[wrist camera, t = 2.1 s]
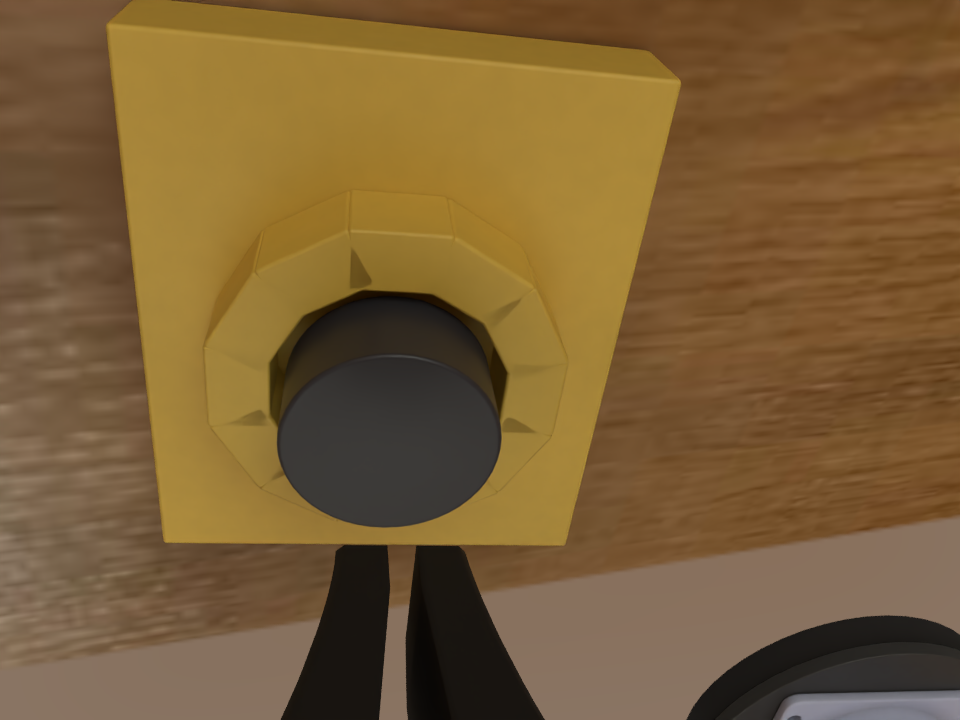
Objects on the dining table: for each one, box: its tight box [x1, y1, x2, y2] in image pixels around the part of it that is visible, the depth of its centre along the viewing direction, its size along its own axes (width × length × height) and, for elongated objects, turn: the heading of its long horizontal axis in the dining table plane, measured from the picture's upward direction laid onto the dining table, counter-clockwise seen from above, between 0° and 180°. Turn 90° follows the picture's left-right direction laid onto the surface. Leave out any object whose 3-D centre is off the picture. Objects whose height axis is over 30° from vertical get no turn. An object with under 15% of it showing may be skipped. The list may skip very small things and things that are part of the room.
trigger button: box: [277, 296, 502, 528], centre depth 16 cm, size 4×4×2 cm
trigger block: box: [106, 0, 681, 546], centre depth 18 cm, size 12×10×4 cm
